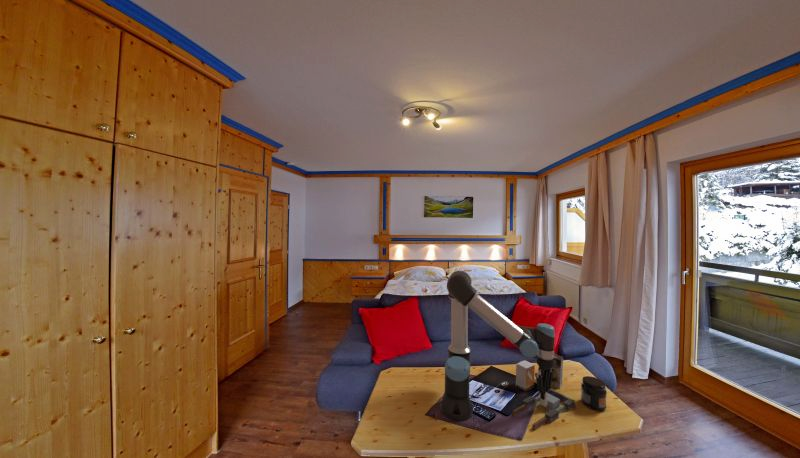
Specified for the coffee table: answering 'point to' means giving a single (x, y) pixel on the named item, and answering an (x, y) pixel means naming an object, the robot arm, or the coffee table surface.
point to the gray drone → (550, 415)
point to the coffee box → (557, 371)
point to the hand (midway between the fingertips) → (543, 404)
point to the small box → (525, 374)
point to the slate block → (552, 402)
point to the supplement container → (593, 393)
